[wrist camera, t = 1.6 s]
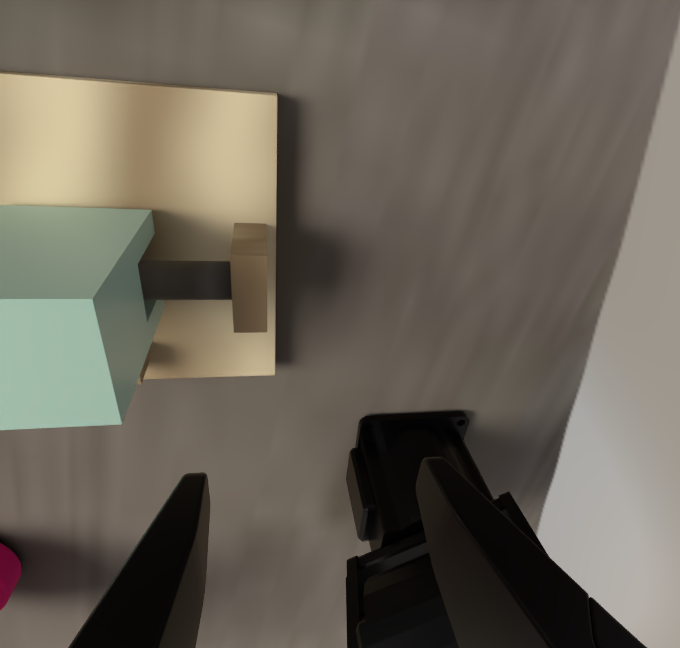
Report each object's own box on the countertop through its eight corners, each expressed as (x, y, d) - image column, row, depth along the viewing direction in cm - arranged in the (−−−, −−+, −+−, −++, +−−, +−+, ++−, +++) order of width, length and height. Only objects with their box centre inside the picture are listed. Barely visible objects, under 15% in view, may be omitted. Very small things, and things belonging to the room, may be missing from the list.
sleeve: (151, 209, 16) (92, 298, 10) (165, 305, 18) (121, 424, 12) (-3, 204, 15) (-161, 298, 9) (29, 306, 17) (-84, 433, 11)
